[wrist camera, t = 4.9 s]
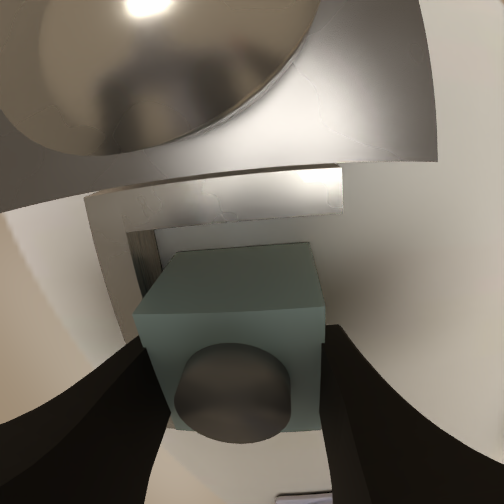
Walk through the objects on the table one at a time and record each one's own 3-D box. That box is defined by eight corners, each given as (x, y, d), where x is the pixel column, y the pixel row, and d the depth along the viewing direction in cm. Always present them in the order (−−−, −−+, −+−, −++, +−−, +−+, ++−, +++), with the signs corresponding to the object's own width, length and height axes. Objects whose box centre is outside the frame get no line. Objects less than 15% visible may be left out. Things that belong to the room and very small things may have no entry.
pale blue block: (311, 350, 12) (323, 455, 8) (200, 354, 13) (169, 453, 8) (309, 242, 10) (332, 333, 6) (176, 252, 11) (115, 338, 6)
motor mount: (341, 392, 13) (363, 533, 7) (173, 396, 14) (130, 523, 7) (326, -13, 7) (382, -156, 1) (97, 28, 8) (-57, -19, 2)
